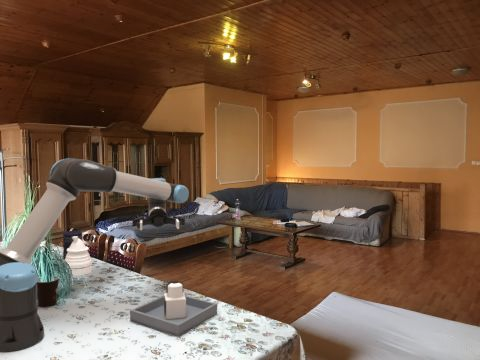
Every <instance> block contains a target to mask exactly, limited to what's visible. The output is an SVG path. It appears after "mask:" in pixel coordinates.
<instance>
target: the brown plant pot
mask: <svg viewBox="0 0 480 360" xmlns="http://www.w3.org/2000/svg"><path fill="white" fill-rule="evenodd" d="M54 276H55V280H54V281H50V282H40V277H41V276H38V279H37V307H40V308H49V307H53V306H56V304H57V301H58V291H59V284H60V276H58V275H54Z"/></svg>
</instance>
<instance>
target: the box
mask: <svg viewBox="0 0 480 360" xmlns="http://www.w3.org/2000/svg"><path fill="white" fill-rule="evenodd" d="M184 295H185V294H184ZM185 298H186V317H185V318H178V319H167V320H166V318H165V313H164V295H162V296H160V297H157V298H155V299H153V300H151V301H148V302H145V303H144V304H141V305H139V306H137V307H135V308H132V309H130V310H129V321H130V323H134V324H137V325H141V326H143V327H146V328H148V329H149V328H150V329H152V330H153V331H158V332H161V333H163V334H166V335H170V336H173V337H176V338H180V337H181V336H183V335H185V334H187V333H188V332H190V331H191V329H192V330H193V329H195V328H197V327H199V326H200V325H202V324H203V323H205V322H206V321H208V320H210V319H211V318H213V317H215V316H217V315H218V303H216V302H212V301H208V300H204V299H201V298H197V297H193V296H189V295H185Z"/></svg>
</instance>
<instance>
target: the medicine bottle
mask: <svg viewBox="0 0 480 360" xmlns="http://www.w3.org/2000/svg"><path fill="white" fill-rule="evenodd" d="M165 287H166V288H165V289H166V290H165V291H166V292H164V294H163V296H164V313H165V318H166V320H167V319H178V318H185V317H186V298H185V293H184V283H183V282H182V281H179V280H171V281H169V282H167V283H166V285H165Z"/></svg>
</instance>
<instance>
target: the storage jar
mask: <svg viewBox="0 0 480 360" xmlns="http://www.w3.org/2000/svg"><path fill="white" fill-rule="evenodd" d="M62 235H63V236H62V244H63V252H62V256H63V259H65V258H66V255H67V253H68V251H67V249H68V248H70V246H71V244H72V242H73V241H74V240H73V238H72V237H73V236H78V239H81V240H82V241H83V231H82V230H67V231H66V230H65V231H63V232H62Z"/></svg>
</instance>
